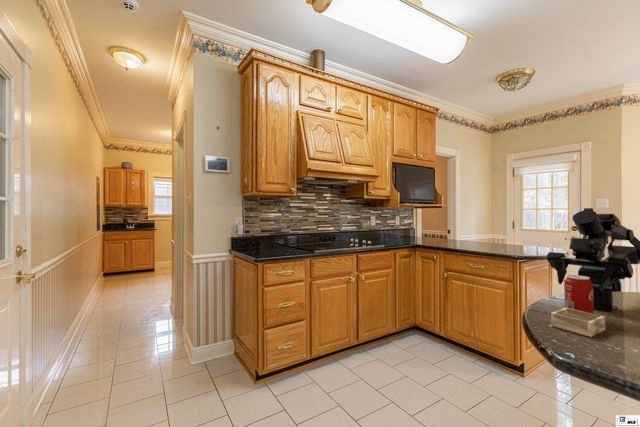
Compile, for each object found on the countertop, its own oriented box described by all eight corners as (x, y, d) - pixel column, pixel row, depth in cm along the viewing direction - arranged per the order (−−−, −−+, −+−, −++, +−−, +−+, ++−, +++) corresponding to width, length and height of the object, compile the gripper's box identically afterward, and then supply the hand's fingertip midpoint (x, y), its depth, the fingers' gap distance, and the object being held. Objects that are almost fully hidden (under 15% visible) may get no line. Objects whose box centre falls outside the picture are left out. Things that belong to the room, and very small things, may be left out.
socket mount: (566, 319, 83) (565, 307, 83) (605, 329, 76) (604, 316, 76) (551, 325, 79) (551, 313, 79) (591, 336, 72) (590, 322, 72)
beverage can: (599, 322, 81) (598, 279, 81) (573, 321, 82) (572, 279, 82) (584, 314, 87) (583, 274, 87) (560, 313, 88) (559, 274, 88)
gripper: (548, 227, 95) (532, 264, 90) (628, 229, 79) (615, 275, 74) (559, 249, 99) (544, 286, 94) (638, 255, 83) (626, 300, 78)
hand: (578, 286), depth 85 cm, fingers open, 9 cm apart
